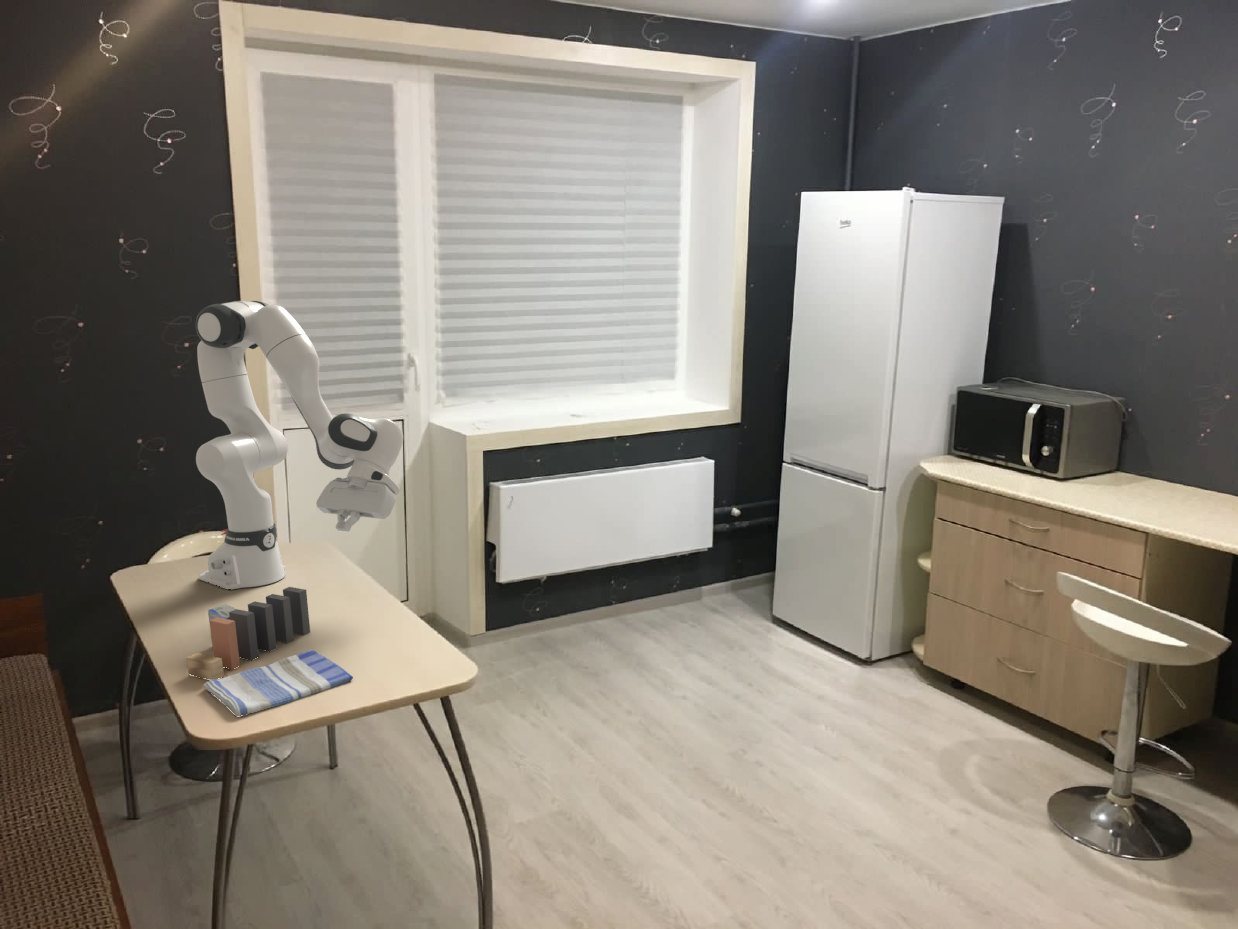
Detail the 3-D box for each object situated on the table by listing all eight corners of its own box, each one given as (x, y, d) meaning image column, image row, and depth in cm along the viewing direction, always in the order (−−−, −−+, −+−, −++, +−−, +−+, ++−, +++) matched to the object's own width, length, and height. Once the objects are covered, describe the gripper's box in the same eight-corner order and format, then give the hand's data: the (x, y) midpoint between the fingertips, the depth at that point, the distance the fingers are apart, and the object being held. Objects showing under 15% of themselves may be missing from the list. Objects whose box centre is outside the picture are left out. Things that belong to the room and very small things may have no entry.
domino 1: (214, 666, 199) (209, 620, 196) (222, 662, 200) (217, 617, 198) (232, 670, 196) (227, 624, 194) (240, 666, 198) (234, 620, 196)
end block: (189, 675, 194) (186, 657, 193) (199, 671, 196) (197, 652, 195) (213, 682, 191) (211, 663, 190) (223, 677, 193) (221, 658, 192)
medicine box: (248, 650, 206) (244, 612, 205) (228, 656, 203) (224, 618, 201) (231, 640, 212) (227, 603, 210) (211, 646, 209) (207, 609, 207)
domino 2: (234, 657, 203) (229, 612, 201) (241, 653, 205) (236, 609, 203) (251, 661, 201) (246, 615, 199) (258, 657, 203) (254, 612, 200)
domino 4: (270, 639, 212) (265, 596, 210) (276, 636, 213) (272, 593, 211) (287, 643, 210) (282, 600, 207) (293, 640, 211) (289, 597, 209)
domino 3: (252, 648, 207) (247, 604, 205) (259, 644, 209) (254, 601, 207) (269, 652, 205) (264, 607, 203) (276, 648, 207) (272, 604, 205)
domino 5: (286, 631, 216) (282, 589, 214) (293, 628, 218) (289, 586, 216) (303, 635, 214) (299, 592, 212) (310, 632, 216) (306, 589, 213)
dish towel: (202, 692, 188) (200, 679, 187) (317, 658, 203) (316, 645, 203) (234, 723, 175) (232, 708, 175) (354, 684, 190) (353, 670, 190)
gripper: (325, 470, 234) (300, 519, 227) (392, 475, 225) (368, 526, 219) (339, 484, 239) (315, 532, 232) (405, 489, 230) (382, 540, 223)
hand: (341, 529), depth 225 cm, fingers closed
